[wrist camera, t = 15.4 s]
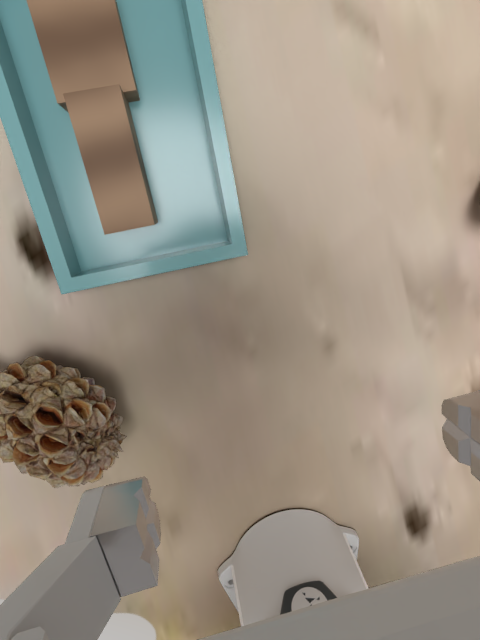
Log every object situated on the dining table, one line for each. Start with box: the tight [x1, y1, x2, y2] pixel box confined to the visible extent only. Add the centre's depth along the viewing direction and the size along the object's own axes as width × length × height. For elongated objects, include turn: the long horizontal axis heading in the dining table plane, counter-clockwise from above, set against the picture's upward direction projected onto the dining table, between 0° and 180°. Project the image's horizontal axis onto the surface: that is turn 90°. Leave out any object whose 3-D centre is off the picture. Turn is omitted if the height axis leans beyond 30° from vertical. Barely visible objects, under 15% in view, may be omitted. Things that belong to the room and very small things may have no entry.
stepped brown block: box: [26, 0, 158, 235], centre depth 30 cm, size 17×6×5 cm, turn 11°
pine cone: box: [0, 355, 127, 488], centre depth 33 cm, size 22×10×10 cm, turn 54°
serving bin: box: [0, 0, 248, 294], centre depth 31 cm, size 24×16×4 cm
